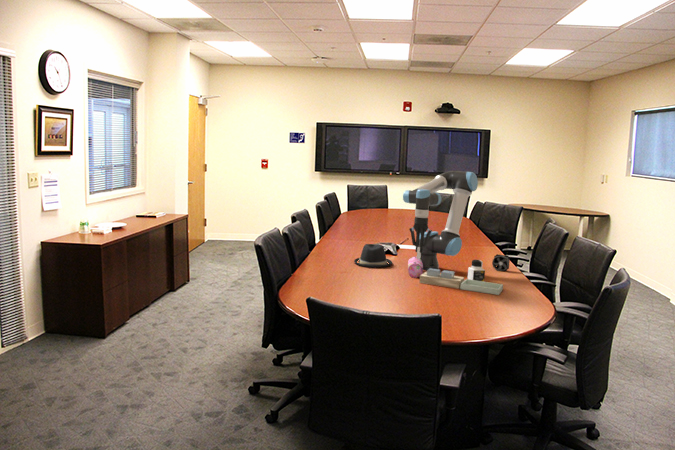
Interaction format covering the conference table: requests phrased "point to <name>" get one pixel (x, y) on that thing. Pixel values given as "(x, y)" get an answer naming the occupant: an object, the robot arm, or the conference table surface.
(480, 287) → the tray
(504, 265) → the cpu cooler
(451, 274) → the tile front
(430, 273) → the tile rear
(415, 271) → the pencil case
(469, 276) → the medicine bottle
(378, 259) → the fedora
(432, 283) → the wooden block
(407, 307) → the conference table surface
